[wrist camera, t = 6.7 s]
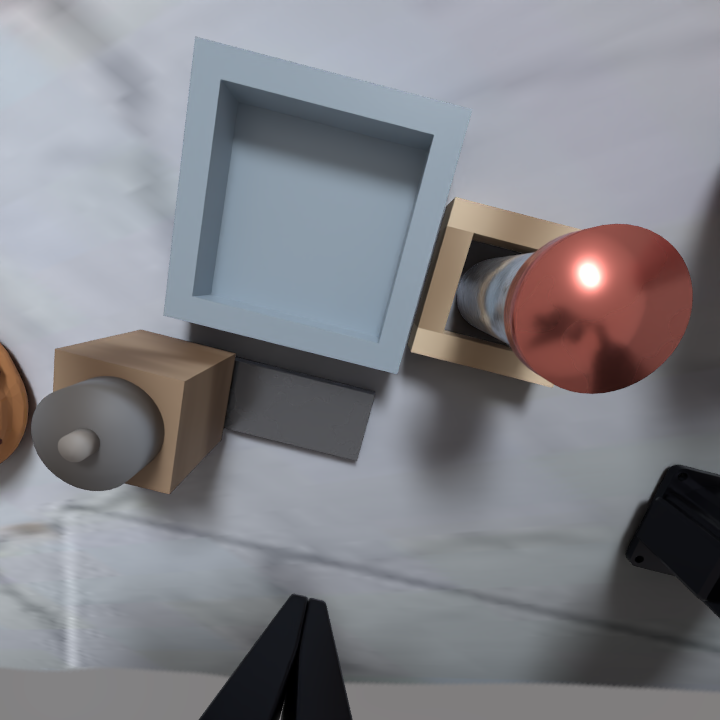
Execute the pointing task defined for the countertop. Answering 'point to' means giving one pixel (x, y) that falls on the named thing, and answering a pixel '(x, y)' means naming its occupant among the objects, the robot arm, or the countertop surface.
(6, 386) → the donut
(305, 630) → the robot arm
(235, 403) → the rail
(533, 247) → the socket
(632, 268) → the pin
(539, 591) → the countertop surface
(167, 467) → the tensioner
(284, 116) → the tray
